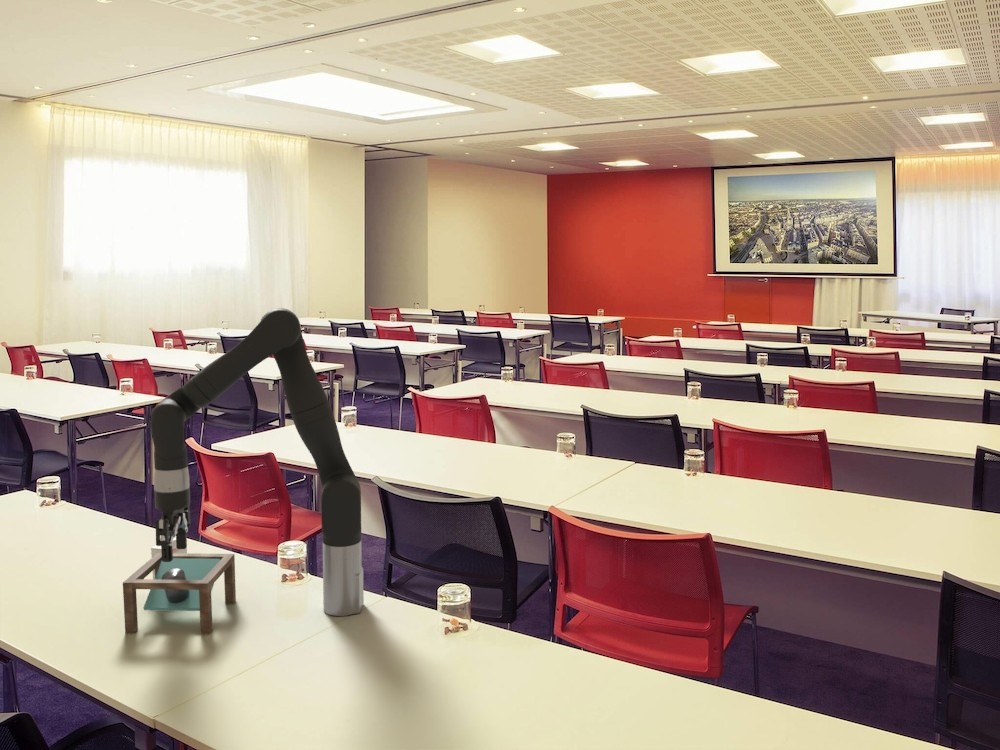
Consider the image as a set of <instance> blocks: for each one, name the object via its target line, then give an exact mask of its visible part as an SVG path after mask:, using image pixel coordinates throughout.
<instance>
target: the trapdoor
mask: <svg viewBox="0 0 1000 750" xmlns="http://www.w3.org/2000/svg"><path fill="white" fill-rule="evenodd" d="M219 561H220V559H192V558H173V560H172V561H171V562H163V561H161V564H160V566H159V569H158V571H157V574H156V577H155V579H154V580H162V576H163V574H164V573H165V572H167V571H169V570H171V569H181V570H183V571H184V573H185V577H186V580H202V579H203V578H204V577H205V576H206V575H207V574H208V573H209V572H210V571H211V570H212V569H213V568H214V566H215V565H216V564H217V563H218V562H219ZM214 584H215V583H214ZM214 584H213V585H212V586H211V592H212V591H213V588H214V586H215V585H214ZM143 605H144V606H143V610H144V611H174V612H175V611H180V612H181V611H185V612H186V611H187V612H188V611H190V612H192V611H193V612H195V611H196V612H198V611H199V612H200V604H199V590H189V596H188V597H187V598H186V599H185V600H184V601H182V602H179V603H171V602H169V601H168V600H167V597H166V594H165V590H164V589H149V592H148V595H147V597H146V601H145V603H144V604H143Z"/></svg>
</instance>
